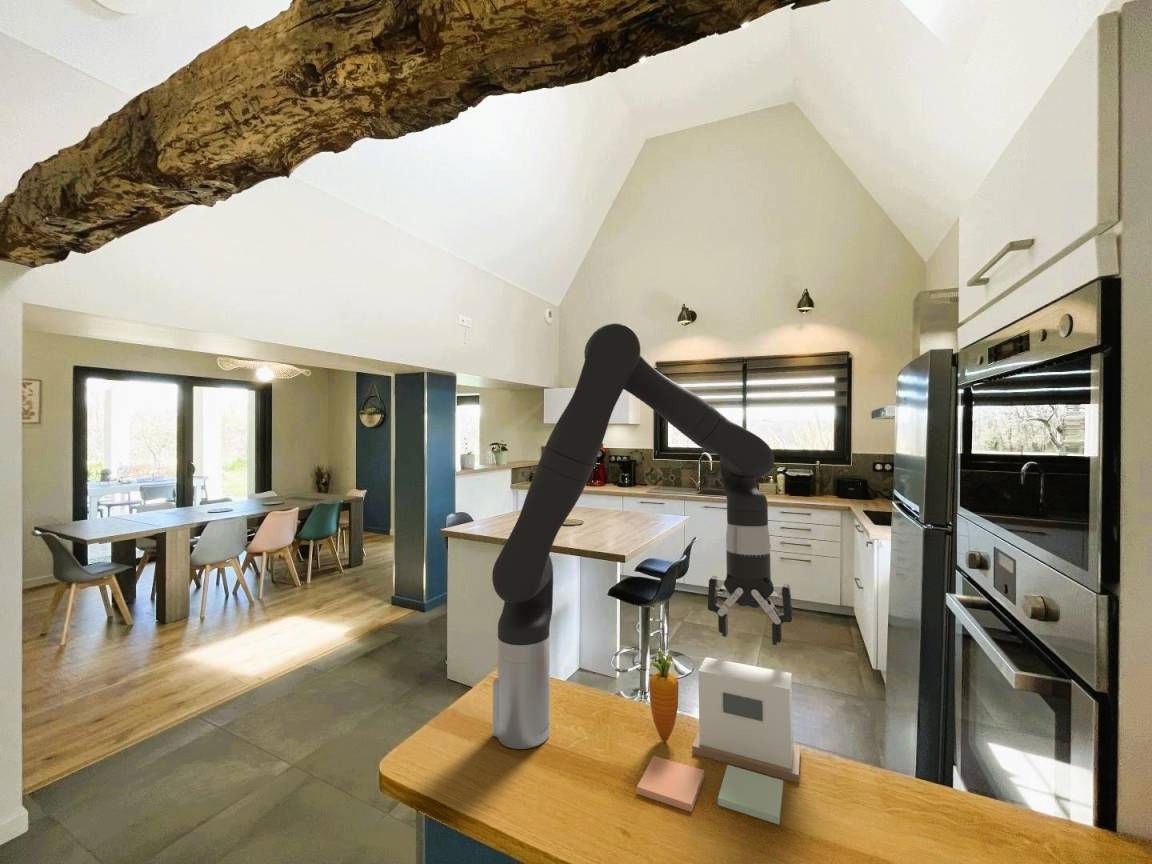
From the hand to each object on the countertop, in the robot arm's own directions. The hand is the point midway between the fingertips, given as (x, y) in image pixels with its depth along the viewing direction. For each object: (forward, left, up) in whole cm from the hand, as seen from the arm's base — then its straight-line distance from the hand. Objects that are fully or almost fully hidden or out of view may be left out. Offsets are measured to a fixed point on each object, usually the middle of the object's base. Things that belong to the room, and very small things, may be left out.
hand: (749, 639), depth 86 cm
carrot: (-13, -10, -16) cm, 23 cm away
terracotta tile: (-9, -20, -16) cm, 27 cm away
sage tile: (+2, -17, -16) cm, 23 cm away
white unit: (0, -7, -16) cm, 18 cm away
